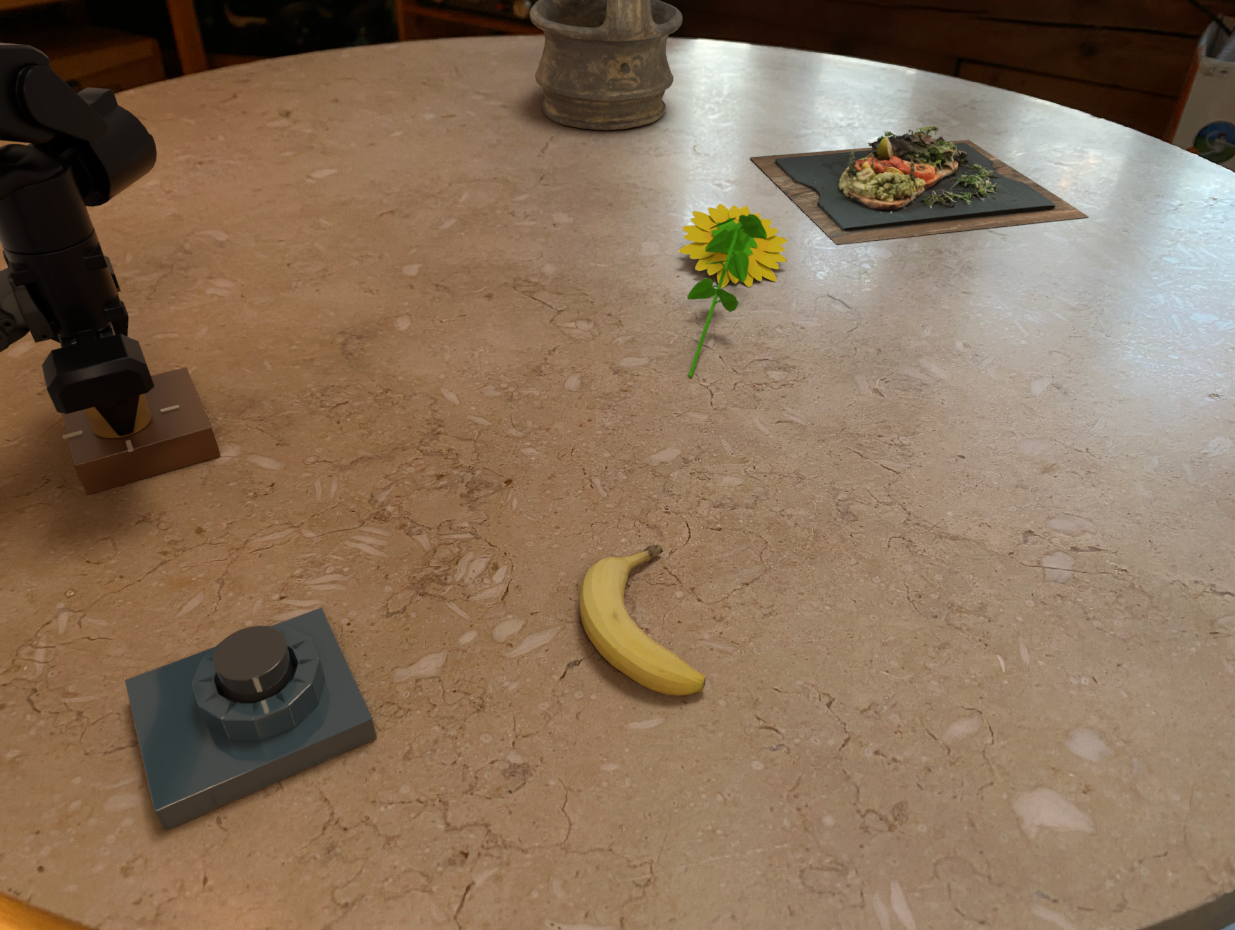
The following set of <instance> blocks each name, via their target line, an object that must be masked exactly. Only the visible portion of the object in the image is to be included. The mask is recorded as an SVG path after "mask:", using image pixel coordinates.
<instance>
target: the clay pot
mask: <svg viewBox="0 0 1235 930" xmlns="http://www.w3.org/2000/svg"><path fill="white" fill-rule="evenodd" d="M529 18H530V22H531V23H532V25H534V26H535V27H536V28H537V29H539V30H541V31H542V32H543V37H544V45H543V50H542V54H541V57H540V60H539V63H538V65H537V69H536V71H535V73H534V78H535V81H536V83H537V85H538V86H540V87H542V93H543V96H544V100H543V102H542V105H541V108H542V111H543V113H544V115H545V116H546V117H547V118H548V119H550V120H551V121H552V122H554V123H556V124H559V125H561V126H566V127H571V128H578V129H583V130H584V129H585V130H595V131H597V130H599V131H614V130H615V131H616V130H626V129H632V128H637V127H642V126H646V125H650V124H652V123H655V122H656V121H658V120H659V119H661V117H663V116H664V114H665V113H666V108H667V107H666V103H665V102H664V100H663V98H664V96H665V93H666V91H667V90H668V89H670V88H671V87H672V85H673V83H674V74H673V73H672V71H671V67H670V64H669V61H668V56H667V41H668V39H669V35H670V34H674V33H675V32H676V31H678V30H679V28H680V27H681V26H682V24H683V14H682V12H681V11H680V10H679V9H678V8H677V7H675V6H674V5H672V4H670V3H667V2H665V1H662V0H536V2H535V3H534V4H533V5H532V6H531V8H530V10H529Z"/></svg>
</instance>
